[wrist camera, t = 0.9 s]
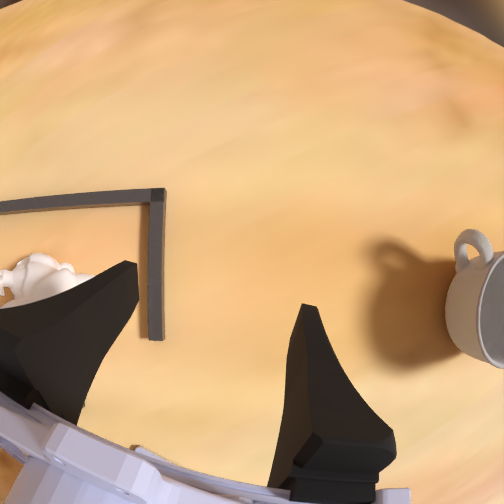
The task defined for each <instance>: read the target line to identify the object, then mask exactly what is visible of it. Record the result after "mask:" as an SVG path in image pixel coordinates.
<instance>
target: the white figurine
mask: <svg viewBox="0 0 504 504" xmlns="http://www.w3.org/2000/svg"><path fill="white" fill-rule="evenodd" d="M93 277H95V275H91V274H86V273H75V272H74V269H73V267H72V265H71V264H70V263H58V262H57V261H56V260H55V259H54V258H52V257H51V256H49V255H47V254H42V253H32V254H30V256H29V257H27V258H25V259H23V260H21V261H20V262H18V263H17V265H16V267H15V268H14V269H13V270H12V271H8V270H7V269H3V270H0V296H5V294H4V287H9V288H10V290H11V292H12V293H13V295H14V296H13V298H14V300H11V301H9V302H7V303H5V304H4V305H3V306H2V307H0V309H2V308H10V307H15V306H20V305H25V304H29V303H32V302H36V301H39V300H42V299H45V298H49V297H51V296H54V295H57V294H59V293H62V292H64V291H66V290H69V289H71V288H73V287H75V286H77V285H79V284H81V283H83V282H85V281H87V280H89V279H91V278H93Z"/></svg>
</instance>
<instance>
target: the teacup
mask: <svg viewBox="0 0 504 504" xmlns="http://www.w3.org/2000/svg"><path fill="white" fill-rule="evenodd" d="M466 243H467V244H470V245H472V246H473V247H475V248H476V249H477V251H478V252H479V254H480V256H478V257H475V258H473V259H471V260H470V261H469V260H468V256H467V252H466ZM454 254H455V260H456V265H455V270H456V275H455V277H454V278H453V280H452V282H451V285H450V287H449V290H448V293H447V298H446V304H445V319H446V325H447V329H448V332H449V335H450V337H451V339H452V341H453V342H454V344H455V345H456V346H457V347H458V348H459V349H460V350H461V351H462V352H464V353H465V354H467V355H469V356H471V357H473V358H476V359H478V360H481V361H484V362H487V363H490V364H491V365H493V366H495V367H497V368H501V369H504V251H501V252H495V253H493V249H492V246H491V244H490V242H489V240H488V238H487V237H486V236H485V235H484V234H482V233H481V232H480V231H477V230H475V229H467V230H465V231H463V232H462V233H461V234H460V235H459V236H458V238H457V239H456V241H455V244H454Z"/></svg>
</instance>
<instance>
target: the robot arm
mask: <svg viewBox="0 0 504 504" xmlns="http://www.w3.org/2000/svg"><path fill="white" fill-rule="evenodd" d="M138 301H139V288H138V272H137V263H133V262H130V261H126V260H125V261H123V262H121V263H119V264H117V265H115V266H113V267H111V268H109V269H107V270H106V271H104V272H102V273H100V274H98V275H96V276H95V277H93V278H91V279H89V280H87V281H85V282H83V283H81V284H79V285H77V286H75V287H73V288H71V289H69V290H66V291H64V292H62V293H59V294H57V295H54V296H51V297H49V298H45V299H42V300H39V301H36V302H32V303H29V304H25V305H20V306H15V307H10V308H2V309H0V447H1V448H2V449H3V450H4V451H6V452H7V453H8V454H10V455H11V456H12V457H14V458H15V459H16V460H18V461H19V462H20V463H22V464H23V465H24V466H23V467H22V469H21V471H20V473H19V475H18V477H17V479H16V480H15V482H14V484H13V486H12V488H11V490H10V492H9V494H8V496H7V498H6V500H5V502H4V504H411V490H410V488H387V489H380V490H376V491H375V483H378V481H379V472H380V471H382V470H383V469H384V468H386V467H387V466H388V465H389V464H391V463H392V462H393V460H394V459H395V458H396V455H397V452H396V442H395V437H394V433H393V430H392V429H391V428H390V427H389V426H388V425H387V424H386V423H385V422H384V421H383V420H382V419H381V418H380V417H379V416H378V415H377V414H376V413H375V412H374V411H373V410H372V409H371V408H370V407H369V406H368V404H367V403H366V402H365V401H364V399H363V398H362V397H361V396H360V394H359V393H358V392H357V390H356V389H355V388H354V386H353V385H352V383H351V382H350V380H349V379H348V377H347V375H346V374H345V372H344V370H343V368H342V367H341V365H340V363H339V361H338V359H337V357H336V355H335V353H334V351H333V349H332V346H331V344H330V342H329V339H328V337H327V334H326V332H325V329H324V326H323V324H322V321H321V318H320V314H319V311H318V308H317V307H316V306H312V305H307V304H302V305H301V308H300V311H299V314H298V317H297V320H296V323H295V326H294V329H293V331H292V334H291V337H290V343H289V348H288V354H287V363H286V381H285V398H284V409H283V415H282V421H281V426H280V432H279V437H278V442H277V446H276V451H275V456H274V460H273V464H272V469H271V473H270V477H269V481H268V485H267V487H264V486H258V485H253V484H248V483H242V482H238V481H233V480H228V479H224V478H220V477H216V476H212V475H208V474H204V473H200V472H196V471H193V470H189V469H186V468H182V467H179V466H177V465H175V464H173V463H171V462H169V461H167V460H165V459H163V458H161V457H159V456H158V455H156V454H154V453H152V452H150V451H149V450H147V449H145V448H143V447H141V446H138V447H136V449H135V451H133V450H130V449H128V448H125V447H123V446H120V445H118V444H115V443H113V442H111V441H108V440H106V439H104V438H101V437H99V436H97V435H95V434H93V433H90V432H88V431H86V430H84V429H82V428H80V427H78V426H77V422H78V419H79V416H80V413H81V410H82V407H83V404H84V401H85V399H86V396H87V393H88V391H89V389H90V386H91V384H92V382H93V379H94V377H95V375H96V373H97V371H98V369H99V367H100V364H101V362H102V360H103V359H104V357H105V355H106V354H107V352H108V350H109V349H110V347H111V346H112V344H113V343H114V341H115V340H116V338H117V337H118V335H119V334H120V332H121V331H122V329H123V328H124V326H125V325H126V323H127V322H128V320H129V319H130V317H131V315H132V313H133V312H134V310H135V307H136V305H137V303H138Z"/></svg>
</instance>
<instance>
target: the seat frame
mask: <svg viewBox="0 0 504 504" xmlns="http://www.w3.org/2000/svg"><path fill="white" fill-rule="evenodd" d="M166 194H167V191H166V190H165V188H151V189H131V190H115V191H100V192H87V193H75V194H64V195H53V196H44V197H34V198H25V199H17V200H9V201H1V202H0V215H4V214H15V213H26V212H37V211H50V210H63V209H77V208H93V207H111V206H132V205H150V217H149V241H148V330H149V340H154V341H163V340H165V317H164V247H165V215H166ZM84 406H85V402H84V404H83V407H84ZM83 407H82V408H83Z"/></svg>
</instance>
